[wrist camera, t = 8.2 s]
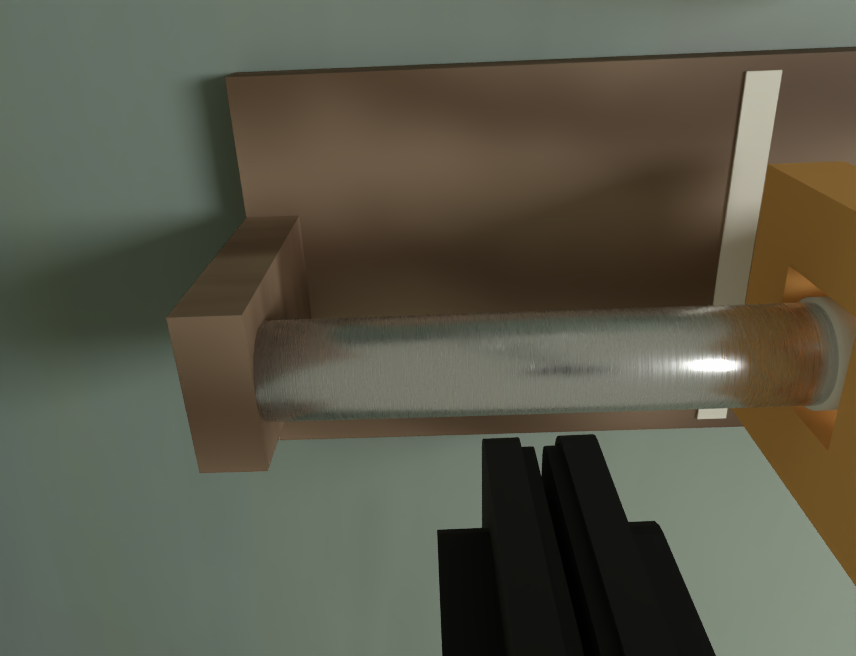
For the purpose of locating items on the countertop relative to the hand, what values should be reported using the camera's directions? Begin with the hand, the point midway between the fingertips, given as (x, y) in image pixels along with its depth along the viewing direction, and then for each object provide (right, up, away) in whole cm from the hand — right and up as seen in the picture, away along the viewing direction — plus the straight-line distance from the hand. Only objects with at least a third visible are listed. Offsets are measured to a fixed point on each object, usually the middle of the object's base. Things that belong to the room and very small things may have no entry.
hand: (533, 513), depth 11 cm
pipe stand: (+4, +6, +18) cm, 20 cm away
